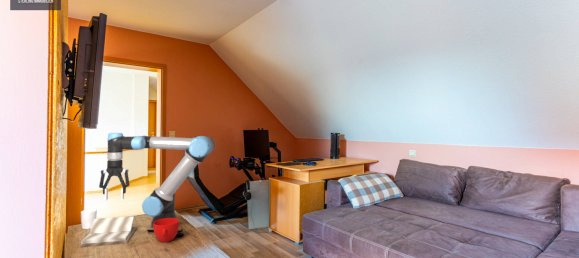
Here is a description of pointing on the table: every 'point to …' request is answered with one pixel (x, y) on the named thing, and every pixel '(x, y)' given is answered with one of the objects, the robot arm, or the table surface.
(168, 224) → the ceramic cup
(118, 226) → the raised plank
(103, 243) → the base board
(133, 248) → the table surface
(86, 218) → the white cup
